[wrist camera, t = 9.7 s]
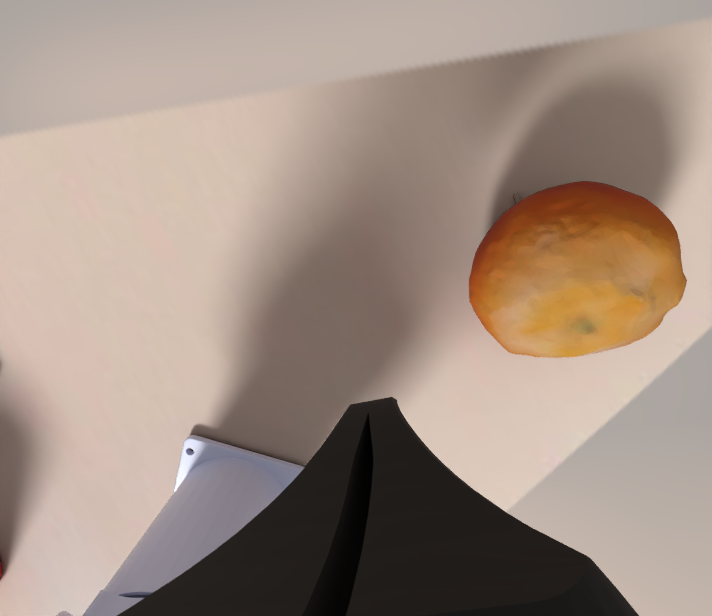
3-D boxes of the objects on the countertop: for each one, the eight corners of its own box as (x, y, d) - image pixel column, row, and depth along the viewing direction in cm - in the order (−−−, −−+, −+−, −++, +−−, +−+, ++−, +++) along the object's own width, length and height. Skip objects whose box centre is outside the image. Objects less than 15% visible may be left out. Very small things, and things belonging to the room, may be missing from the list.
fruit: (666, 163, 16) (797, 270, 10) (567, 288, 22) (618, 401, 16) (496, 128, 16) (536, 216, 10) (441, 262, 22) (448, 366, 16)
